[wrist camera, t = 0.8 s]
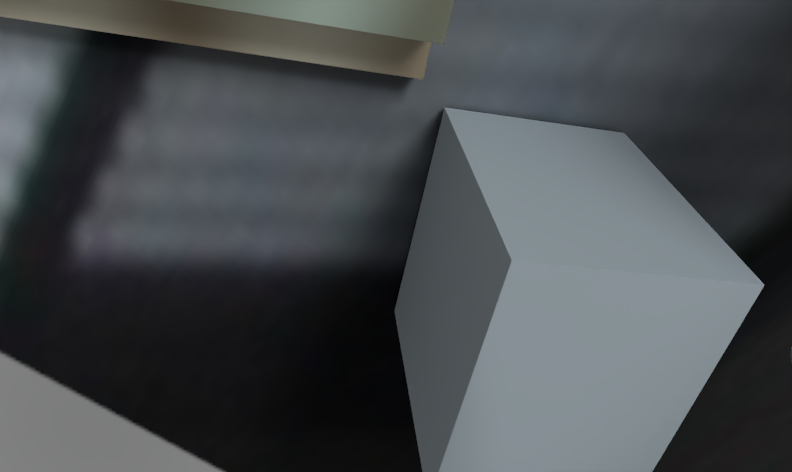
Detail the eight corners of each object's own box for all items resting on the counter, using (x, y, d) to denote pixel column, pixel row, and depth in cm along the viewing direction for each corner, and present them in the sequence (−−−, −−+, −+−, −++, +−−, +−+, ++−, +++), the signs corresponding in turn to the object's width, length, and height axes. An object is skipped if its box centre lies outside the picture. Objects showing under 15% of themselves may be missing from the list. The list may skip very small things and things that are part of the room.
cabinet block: (624, 132, 22) (764, 284, 15) (539, 342, 27) (618, 528, 20) (444, 107, 21) (511, 260, 14) (389, 331, 25) (419, 525, 19)
